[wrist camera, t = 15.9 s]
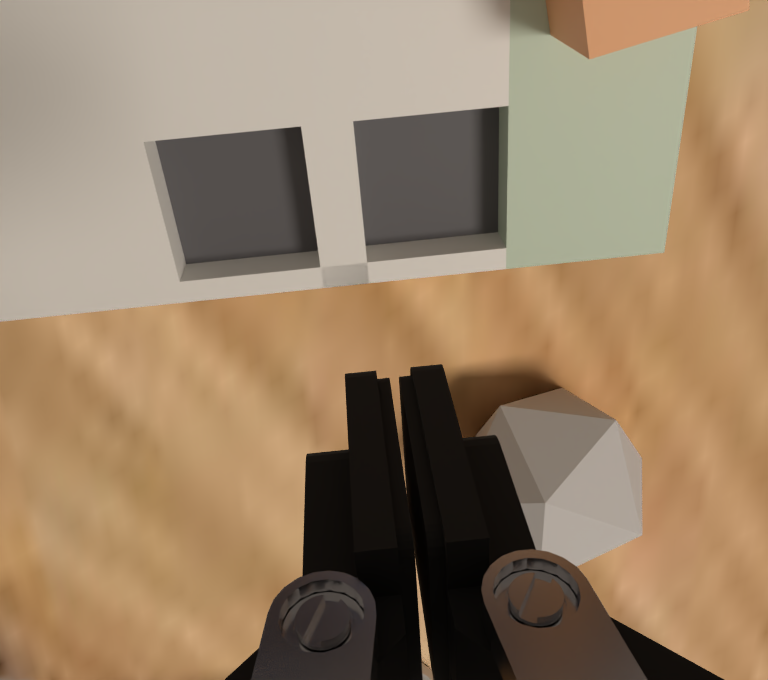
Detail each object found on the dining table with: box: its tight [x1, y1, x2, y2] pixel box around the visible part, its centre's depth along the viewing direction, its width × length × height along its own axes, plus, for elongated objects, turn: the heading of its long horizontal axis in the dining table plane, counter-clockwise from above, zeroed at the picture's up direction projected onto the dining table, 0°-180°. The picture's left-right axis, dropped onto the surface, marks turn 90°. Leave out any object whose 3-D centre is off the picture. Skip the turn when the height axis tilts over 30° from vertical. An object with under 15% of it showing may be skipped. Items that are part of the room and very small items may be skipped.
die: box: [475, 388, 642, 567], centre depth 36 cm, size 8×9×10 cm
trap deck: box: [0, 0, 697, 322], centre depth 28 cm, size 13×29×2 cm, turn 94°
